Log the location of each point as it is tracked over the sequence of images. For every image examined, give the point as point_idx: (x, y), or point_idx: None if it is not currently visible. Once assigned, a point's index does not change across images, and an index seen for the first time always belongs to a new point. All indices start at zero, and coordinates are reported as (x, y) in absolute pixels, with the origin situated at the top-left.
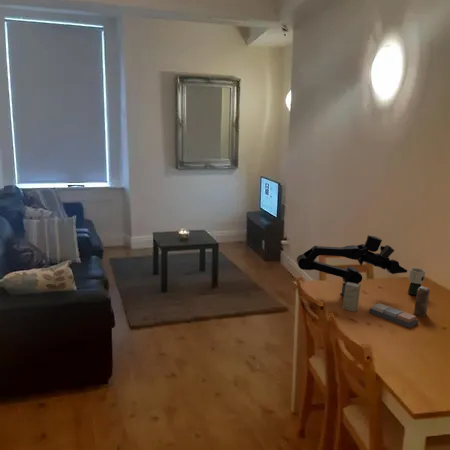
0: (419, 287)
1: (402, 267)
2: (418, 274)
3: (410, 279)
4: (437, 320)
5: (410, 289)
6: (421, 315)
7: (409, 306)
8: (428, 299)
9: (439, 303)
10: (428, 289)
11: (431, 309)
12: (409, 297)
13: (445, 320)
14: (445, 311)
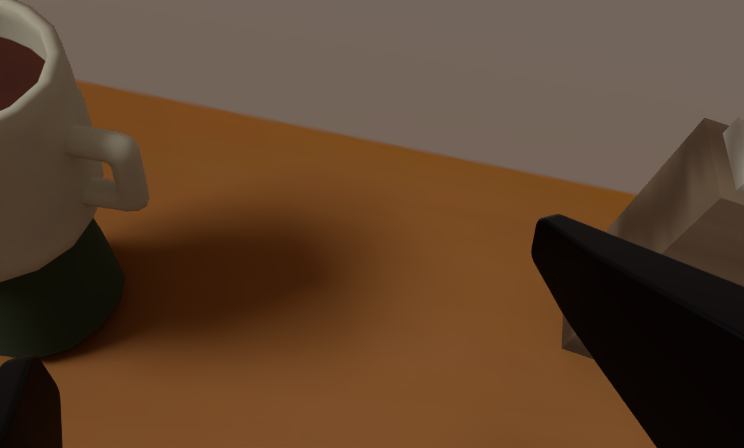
0: (741, 202)
1: (740, 286)
2: (71, 104)
3: (14, 256)
4: None
5: (61, 317)
6: None
7: (462, 391)
8: (636, 197)
9: (266, 149)
10: (725, 131)
11: (436, 226)
12: (178, 361)
13: (596, 186)
14: (425, 151)
